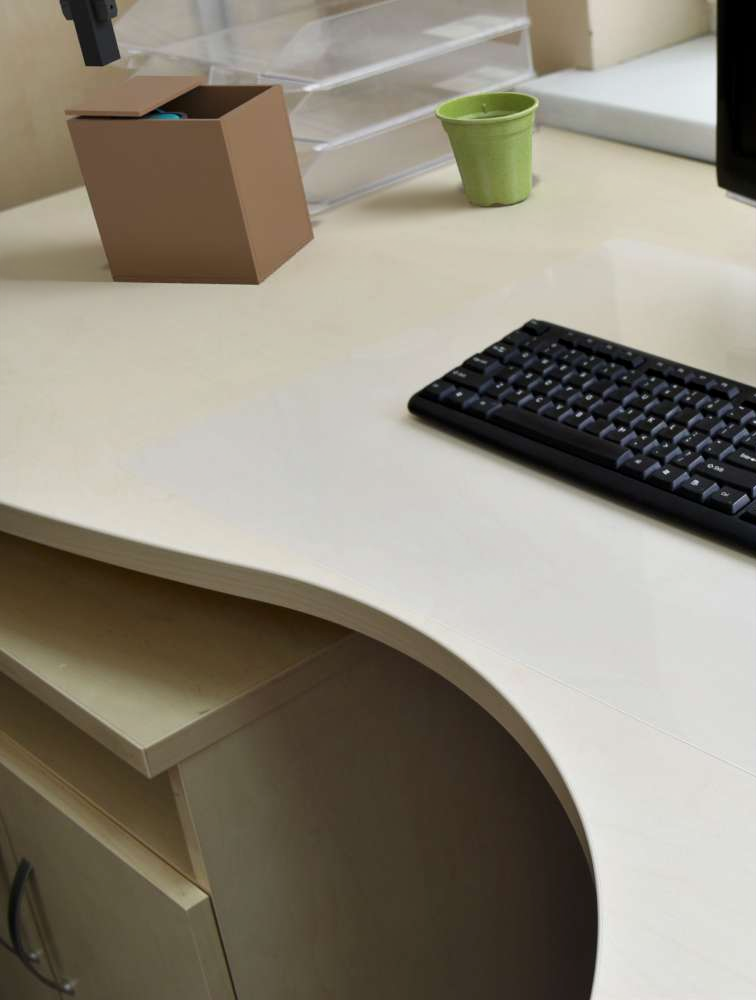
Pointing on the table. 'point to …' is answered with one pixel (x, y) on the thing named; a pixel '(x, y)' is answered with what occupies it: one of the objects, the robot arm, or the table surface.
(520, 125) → the plant pot
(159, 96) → the flap
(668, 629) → the table surface
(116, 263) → the carton
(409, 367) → the table surface
